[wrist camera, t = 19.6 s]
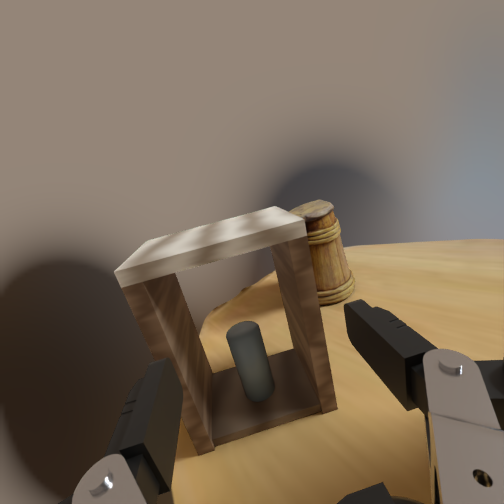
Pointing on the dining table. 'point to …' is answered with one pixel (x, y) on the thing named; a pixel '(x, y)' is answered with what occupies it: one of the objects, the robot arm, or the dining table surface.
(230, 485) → the dining table surface
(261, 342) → the grey cylinder
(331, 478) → the dining table surface
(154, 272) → the open wooden box frame
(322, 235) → the tankard
